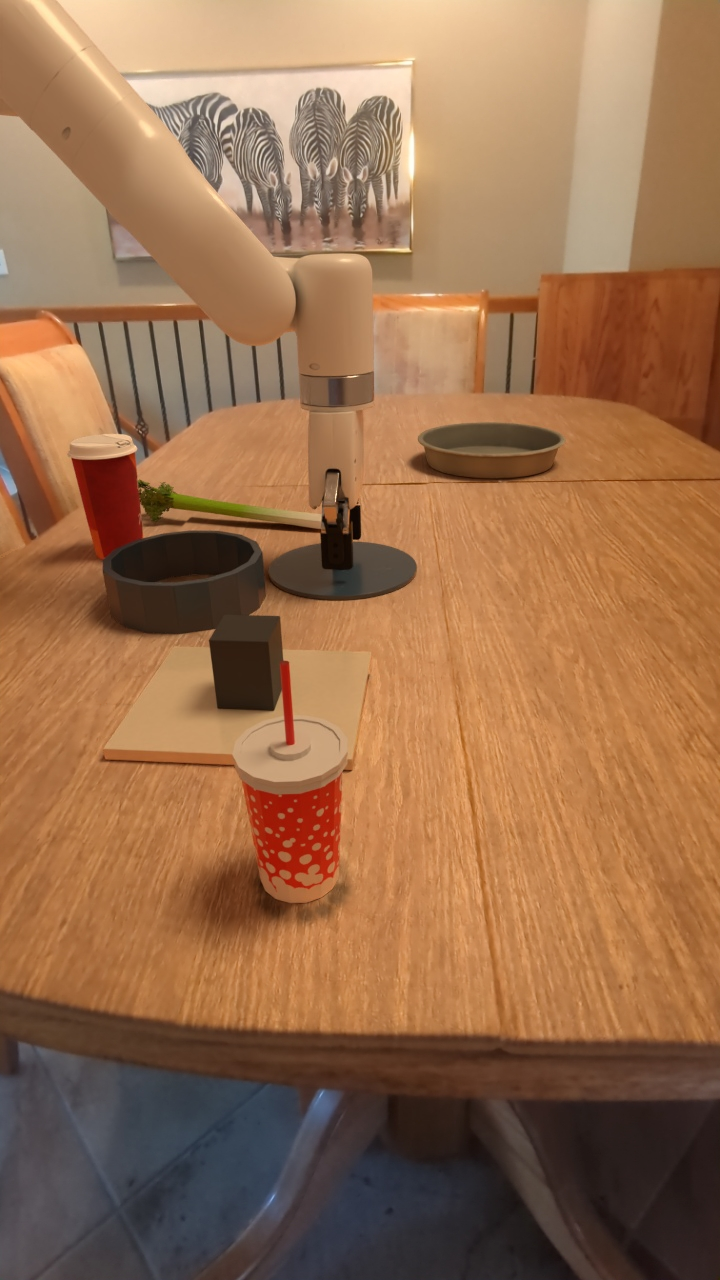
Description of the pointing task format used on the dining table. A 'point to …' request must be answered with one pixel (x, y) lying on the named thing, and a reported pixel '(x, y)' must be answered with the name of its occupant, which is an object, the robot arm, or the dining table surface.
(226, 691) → the block
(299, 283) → the robot arm
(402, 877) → the dining table surface
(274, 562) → the lid
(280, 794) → the beverage cup
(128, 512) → the paper cup
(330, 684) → the board
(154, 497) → the celery stalk
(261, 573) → the pot
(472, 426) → the cake pan
